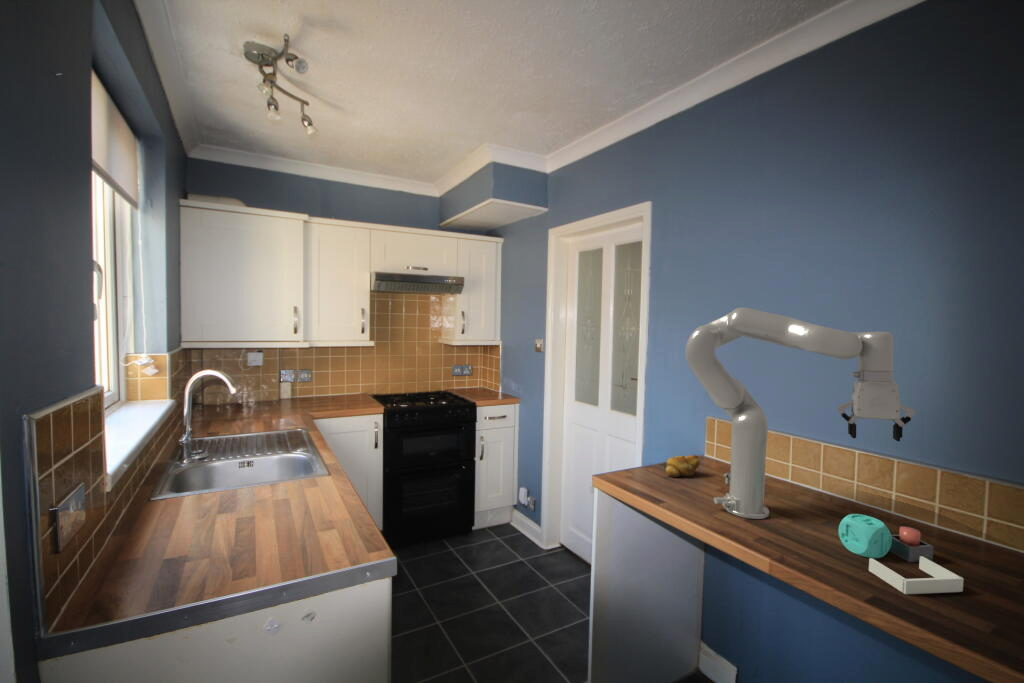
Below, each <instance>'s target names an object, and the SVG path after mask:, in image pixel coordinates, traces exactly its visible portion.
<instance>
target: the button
mask: <svg viewBox="0 0 1024 683" xmlns="http://www.w3.org/2000/svg"><path fill="white" fill-rule="evenodd" d="M898 534H899V540H900V541H902V542H903V543H905V544H907V545H909V546H918V545H920V540H921V531H920V530H918V529H916V528H914V527H909V526H900V527H899V533H898Z"/></svg>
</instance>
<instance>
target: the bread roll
mask: <svg viewBox="0 0 1024 683" xmlns="http://www.w3.org/2000/svg"><path fill="white" fill-rule="evenodd" d="M700 461H701V460H700V458H699V456H698V455H695V454H692V455H691V454H690V455H686V456H684V455H676V456H672V457H669V458H668V459H667V461H666V468H665V473H666V474H667V476H669V477H673V478H679V477H684V478H685V477H686V478H689V477H692V476H694V475H695V474H696V473H695V472H696V470H697V469H698V468H699V466H700V465H701V462H700Z"/></svg>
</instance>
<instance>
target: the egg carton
mask: <svg viewBox="0 0 1024 683" xmlns="http://www.w3.org/2000/svg"><path fill="white" fill-rule="evenodd" d="M723 477H725V481H724V483H725V484H726V485H730V472H725V473H724V474H723Z"/></svg>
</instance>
